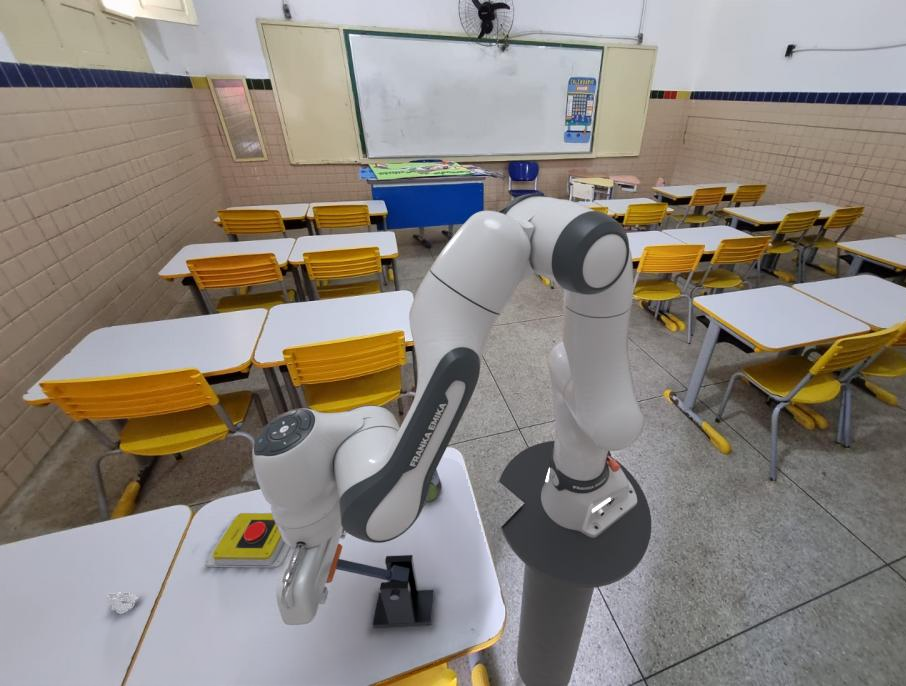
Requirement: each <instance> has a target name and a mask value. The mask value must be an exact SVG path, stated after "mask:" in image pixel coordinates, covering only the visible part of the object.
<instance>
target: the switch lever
mask: <svg viewBox="0 0 906 686" xmlns="http://www.w3.org/2000/svg"><path fill="white" fill-rule="evenodd" d="M342 551H343V545H342V544H341V543H338V546H337V549H336V552H335V555H334V558H333V562H332V565H331V568H330V571H329V574H328V578H327V581H326V584H331V583H333V580H334V577H335V573H336V570H338V571H341V572H346V573H352V574H357V575H361V576H367V577H371V578H374V579H380V580H384V581H386V582H400V581H408V575H409V568H405V567H401V566H396V565H393V567H392V568H391V570H387V568H382V567H377V566H373V565H369V564H364V563H359V562H355V561H351V560H345V559H342V558H340V557H341V553H342Z"/></svg>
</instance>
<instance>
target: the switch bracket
mask: <svg viewBox="0 0 906 686" xmlns="http://www.w3.org/2000/svg"><path fill="white" fill-rule="evenodd" d="M384 563H385V567H386V568H385V569H387V570H391V568H392V567H393V565H396V566H401V567H405V568H409V575H408V581H400V582H387V581H381V582H380V586H379V591H380V592H378V594H377V600H376V604H375V610H374V614H373V615H374V616H373V620H372V628H373V629H383V628H402V627H421V626H432V623H433V622H432V621H433V612H434V600H435V590H434V589H422V590H421V589H419V585H418V580H417V573H416V568H415V562H414V556H413V554H403V555H402V554H401V555H386V556H385V560H384Z"/></svg>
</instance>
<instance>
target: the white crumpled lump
mask: <svg viewBox="0 0 906 686" xmlns="http://www.w3.org/2000/svg"><path fill="white" fill-rule="evenodd" d="M138 599H139V596H137V595H135V594H133V593H132V592H121V591H118V592H111V593H107V595H106V604H112V605H111V608H110V609H111V611H115V612H116V613H117V614H118V615H123V614H126V613H127V612H128V611H130V610H132V609H133V608H134V607H135V604H136V601H137V600H138ZM125 601H127V603H124V602H125Z"/></svg>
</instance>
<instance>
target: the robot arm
mask: <svg viewBox="0 0 906 686" xmlns="http://www.w3.org/2000/svg"><path fill="white" fill-rule="evenodd" d="M629 241H630V240H629V237H628V233H627V231H626V230H625V228H624V226H622V224H620V222H619V221H617V220H616V219H615V218H613V217H612V216H611V215H609V214H607V213H605V212H603V211H599V210H594V209H592V208H590V207H588V206H585V205H583V204H581V203H580V202H576V201H573V200H570V199H561V198H556V197H550V196H547V195H544V194H542V193H527V194H522V195H520V196H517V197H515V198H513V199H512V200H509V202H507V203H506V204H505V205H504V206H503V208H502V209H499V210H497V211H495V210H481V211H478V212H476V213H474V214H472V215H471V216H470V217H469V218H468V219H467V220H465V222H464V223H463V224H462V225H461V226H460V228H458V230H457V231H456V232H455V233H454V234H453V235H452V237H451V238H450V240H448V242H447V243H446V244H445V246H444V247H443V249H442V250H441V252H440V253H439V254H438V256H437V257H436V258H435V260H434V262H433V263H432V264H431V266H430V268H429V269H428V271H427V272H426V274H425V276H424V278H423V279H422V281H421V282H420V284H419V286H418V288H417V290H416V292H415V294H414V298H413V301H412V304H411V306H410V310H409V314H408V321H409V328H410V333H411V338H412V341H413V347H414V351H415V359H416V368H417V369H416V370H417V371H416V373H417V377H416V378H417V381H416V389H415V394H414V397H413V401H412V403H411V405H410V407H409V409H408V411H407V412H406V415H405V417H404V419H403V421H402V423H401V426H400V425H399V423H398V420H397V418H396V416H395V414H394V413H393V412H392V410H390V409H389V408H386V407H384V406H382V405H378V404H365V405H360V406H357V407H353V408H350V409H348V410H346V411H340V412H321V411H317V410H314V409H311V408H305V407H304V408H303V407H302V408H295V409H291V410H287V411H286V412H283V413H281V414H278V416H275V417H274V418H272V419H271V420H270V421H269V422H268V423H266V424H265V426H264V427H263V428H261V430H260V431H259V432H258V435H257V436H256V438H255V440H254V443H253V447H252V450H251V451H252V453H251V458H252V459H251V461H252V466H253V470H254V474H255V478H256V481H257V483H258V486H259V488H260V492H261V493H262V496H263V497H264V499H265V500H266V502H267V503H268V504H270V511H271V512H270V513H272V516H273V518H274V521H275V523H276V525H277V528H278V530H279V532H280V534H281V537H282V539H283V541H284V542H285V543H286V544H287V545H289V546H291V548H290V551H289V553H288V555H287V559H286V560H285V564H284V567H283V569H282V571H281V574H280V576H279V579H278V580H277V581H278V582H277V585H276V593H275V594H276V595H275V596H276V603H277V608H278V611H279V614H280V617H281V620H282V622H283V623H284V625H287V626H302V625H308V624H309V623H311V622H312V621H313V620H314V619H315V618H316V615H317V612H318V609H319V606H320V605H325V604H326V602H327V599H328V595H329V590H328V587H327V586H326V584H327V583H326V581H327V578H328V574H329V571H330V568H331V565H332V562H333V558H334V555H335V552H336V549H337V546H338V544H340V543H339V542H340V539H341V540H344V539H345V538H346V536H347V534H348V535H350V536H351V537H354V538H356V539H358V540H360V541H363V542H368V543H373V544H382V543H387V542H390V541H392V540H395V539H397V538H399V537H400V536H402V535H404V534H405V533H406V532H407V531H408V530H410V528H411V527H412V526H413V525H414V524H415V522H416V521H417V520H418V518H419V517H420V515H421V514H422V512H423V509H424V507H425V505H426V502H427V501H426V500H427V497H428V494H429V489H430V484H431V481H432V478H433V475H434V473H435V471H436V470H437V469H438V467H439V464H440V462H441V460H442V458H443V456H444V455H445V452H446V450H447V448H448V447H449V444H450V442H451V440H452V438H453V436H454V434H455V432H456V430H457V428H458V427H459V424H460V422H461V420H462V418H463V416H464V414H465V411H466V409H467V408H468V406H469V404H470V401H471V399H472V397H473V395H474V392H475V390H476V387H477V385H478V381H479V378H480V373H481V372H480V371H481V363H482V359H483V355H484V351H485V349H486V346H487V342H488V340H489V337H490V335H491V333H492V331H493V328H494V327H495V325H496V323H497V321H498V320H499V318H500V316H501V314H502V313H503V312H504V310H505V309H506V307H507V305H508V304H509V302H510V300H511V298H512V297H513V295H514V292H515V291H516V289H517V287H518V286H519V285H520V284H521V283H522V282H523V281H525V280H526V279H527V278H529V277H531V276H533V275H534V274H535V275H537V276H540V277H543V278H544V279H546V280H548V281H550V282H553V283H554V284H556V285H557V284H558V286H559V287H561V288H562V289H563V296H562V298H563V299H562V303H563V304H562V341H561V342H559V343H557V344H555V346H554V347H553V348H552V349H551V351H550V352H549V353H548V357H547V365H548V366H547V367H548V370H549V371H548V372H549V376H550V381H551V382H550V383H551V391H552V405H553V413H554V414H553V415H554V421H555V423H554V425H555V434H554V441H555V442H554V448H553V450H552V453H551V458H550V467H549V470H548V474H547V477H546V482H545V484H544V486H543V488H542V491H541V502H542V505H543V508H544V510H545V512H546V513H547V515H548V516H549V517H550V518H551V519H552V520H553V521H554V522H556V523H557V524H559V525H560V526H562V527H565V528H567V529H571V530H577V531H580V532H582V533H583V534H585V535H587V536H589V537H591V538H595V537H597V536H598V535H600V534H601V533H602V532H603V531H605V530H606V529H607V528H608V527H610V526H611V525H612V524H614V523H615V522H616V521H617V520H619V519H620V518H621V517H622V516H624V515H625V514H626V513H627V512H629V511H630V510H631V509H632V508H634V507H635V506H636V505H637V496H636V493H635V491H634V489H633V487H632V485H631V483H630V482H629V481H628V479H627V478H626V476H625V474H624V472H623V471H622V469H621V468H620V465H619V464H618V463H617V462H616V460H617V459H615V458H614V459H612V458H613V457H612V453H611V452H617V451H621V450H624V449H626V448H629V447H631V445H633V444H634V443H635V442H636V441H637V440H638V439H639V438H640V437H641V434H642V432H643V430H644V427H645V417H644V415H643V412H642V410H641V407H640V404H639V402H638V399H637V395H636V391H635V386H634V381H633V374H632V373H633V372H632V368H631V361H630V355H629V334H630V322H631V314H632V305H633V295H634V265H633V256H632V251H631V248H630V242H629ZM611 457H612V458H611ZM629 492H631V493H629ZM595 527H596V528H598V529H595Z"/></svg>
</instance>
